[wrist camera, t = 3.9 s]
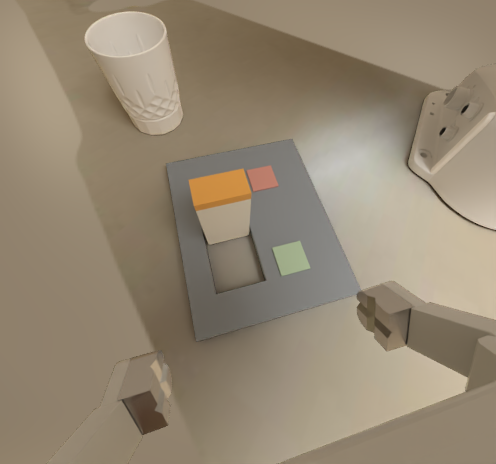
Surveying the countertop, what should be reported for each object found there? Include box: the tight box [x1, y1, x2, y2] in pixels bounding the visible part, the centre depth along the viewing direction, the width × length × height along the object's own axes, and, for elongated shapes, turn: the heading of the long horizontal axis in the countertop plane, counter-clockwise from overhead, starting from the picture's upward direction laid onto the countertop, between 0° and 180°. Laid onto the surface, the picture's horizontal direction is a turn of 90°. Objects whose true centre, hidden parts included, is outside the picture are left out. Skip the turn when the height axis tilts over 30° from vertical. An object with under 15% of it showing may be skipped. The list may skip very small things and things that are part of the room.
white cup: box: [84, 11, 183, 135], centre depth 28 cm, size 8×8×10 cm
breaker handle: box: [189, 169, 251, 245], centre depth 22 cm, size 2×4×8 cm, turn 105°
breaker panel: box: [166, 139, 361, 342], centre depth 26 cm, size 20×16×1 cm
